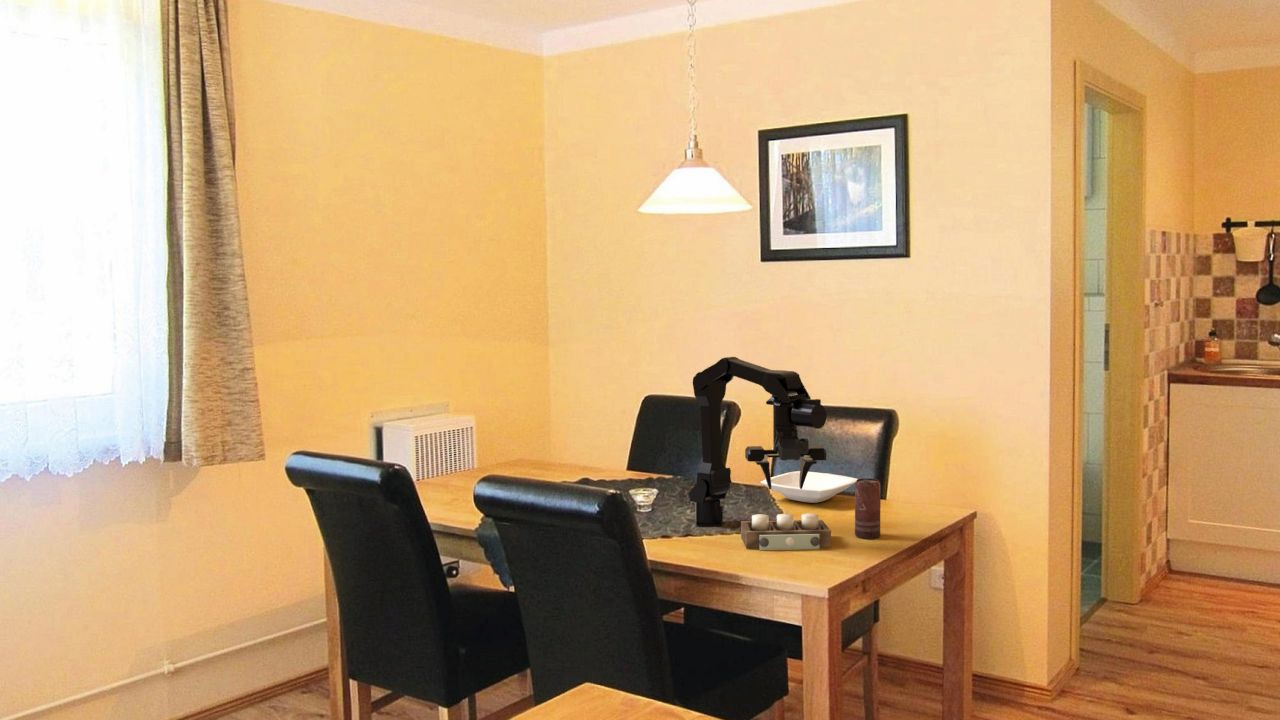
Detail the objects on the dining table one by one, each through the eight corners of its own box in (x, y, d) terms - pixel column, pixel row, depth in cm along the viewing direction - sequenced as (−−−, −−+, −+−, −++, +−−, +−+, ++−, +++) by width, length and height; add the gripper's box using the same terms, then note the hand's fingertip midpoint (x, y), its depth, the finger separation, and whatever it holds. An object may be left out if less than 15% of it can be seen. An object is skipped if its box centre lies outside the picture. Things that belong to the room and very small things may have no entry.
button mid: (778, 530, 262) (778, 517, 262) (775, 526, 266) (775, 513, 266) (794, 529, 262) (794, 517, 262) (792, 525, 266) (792, 513, 266)
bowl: (753, 502, 309) (753, 482, 309) (798, 488, 327) (798, 469, 326) (822, 513, 295) (822, 492, 294) (865, 498, 312) (865, 478, 312)
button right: (803, 529, 263) (803, 517, 262) (800, 525, 266) (800, 513, 266) (819, 529, 263) (819, 517, 262) (816, 525, 267) (816, 513, 266)
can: (876, 540, 265) (876, 483, 264) (851, 537, 268) (851, 481, 267) (884, 535, 270) (885, 479, 269) (860, 532, 273) (860, 476, 272)
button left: (752, 530, 262) (752, 518, 262) (750, 526, 266) (750, 514, 266) (769, 530, 262) (769, 517, 262) (767, 526, 266) (767, 514, 266)
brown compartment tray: (746, 548, 259) (746, 532, 259) (741, 537, 270) (741, 521, 270) (830, 547, 259) (830, 530, 259) (822, 535, 270) (822, 519, 270)
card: (759, 550, 258) (759, 535, 257) (759, 549, 258) (759, 535, 258) (819, 549, 258) (819, 534, 258) (819, 548, 259) (819, 533, 258)
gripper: (750, 430, 254) (750, 496, 255) (831, 428, 255) (830, 495, 256) (744, 423, 265) (745, 486, 267) (821, 421, 266) (821, 485, 267)
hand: (785, 488), depth 264 cm, fingers open, 7 cm apart
